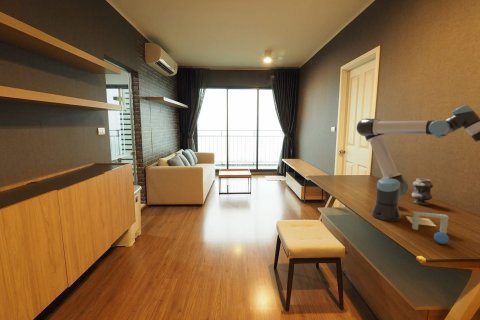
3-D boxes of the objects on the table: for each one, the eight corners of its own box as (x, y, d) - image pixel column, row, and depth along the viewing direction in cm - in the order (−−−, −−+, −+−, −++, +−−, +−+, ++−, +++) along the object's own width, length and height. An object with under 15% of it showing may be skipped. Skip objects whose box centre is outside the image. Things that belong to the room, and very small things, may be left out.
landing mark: (411, 223, 140) (411, 223, 140) (405, 216, 152) (405, 216, 152) (436, 226, 136) (436, 226, 136) (428, 219, 147) (428, 218, 147)
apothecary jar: (428, 202, 182) (431, 178, 180) (433, 206, 171) (436, 181, 169) (409, 200, 187) (411, 177, 185) (412, 204, 176) (415, 180, 174)
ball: (435, 244, 115) (437, 233, 114) (431, 239, 120) (432, 229, 119) (450, 246, 113) (451, 235, 112) (445, 241, 118) (446, 230, 117)
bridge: (446, 233, 127) (448, 216, 126) (413, 229, 132) (415, 213, 131) (444, 231, 130) (446, 214, 129) (411, 227, 135) (413, 211, 134)
